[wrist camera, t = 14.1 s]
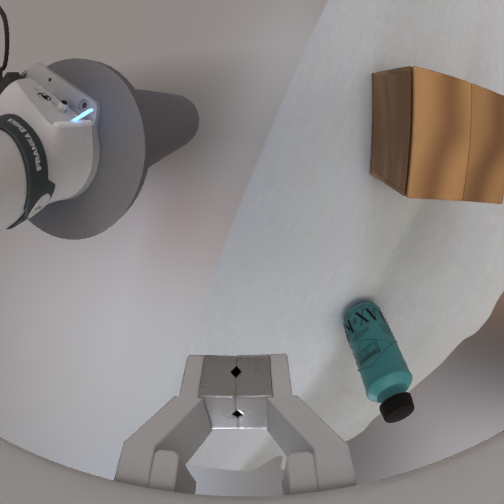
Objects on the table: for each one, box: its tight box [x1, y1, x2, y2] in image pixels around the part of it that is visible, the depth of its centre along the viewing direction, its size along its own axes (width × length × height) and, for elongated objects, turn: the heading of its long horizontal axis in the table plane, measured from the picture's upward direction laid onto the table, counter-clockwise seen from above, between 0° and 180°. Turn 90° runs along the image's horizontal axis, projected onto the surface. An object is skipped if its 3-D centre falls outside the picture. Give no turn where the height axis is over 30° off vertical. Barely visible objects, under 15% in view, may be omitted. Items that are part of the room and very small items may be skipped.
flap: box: [406, 66, 471, 201], centre depth 23 cm, size 7×13×1 cm, turn 2°
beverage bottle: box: [343, 302, 414, 423], centre depth 36 cm, size 6×7×20 cm
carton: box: [370, 66, 504, 204], centre depth 27 cm, size 15×13×10 cm
